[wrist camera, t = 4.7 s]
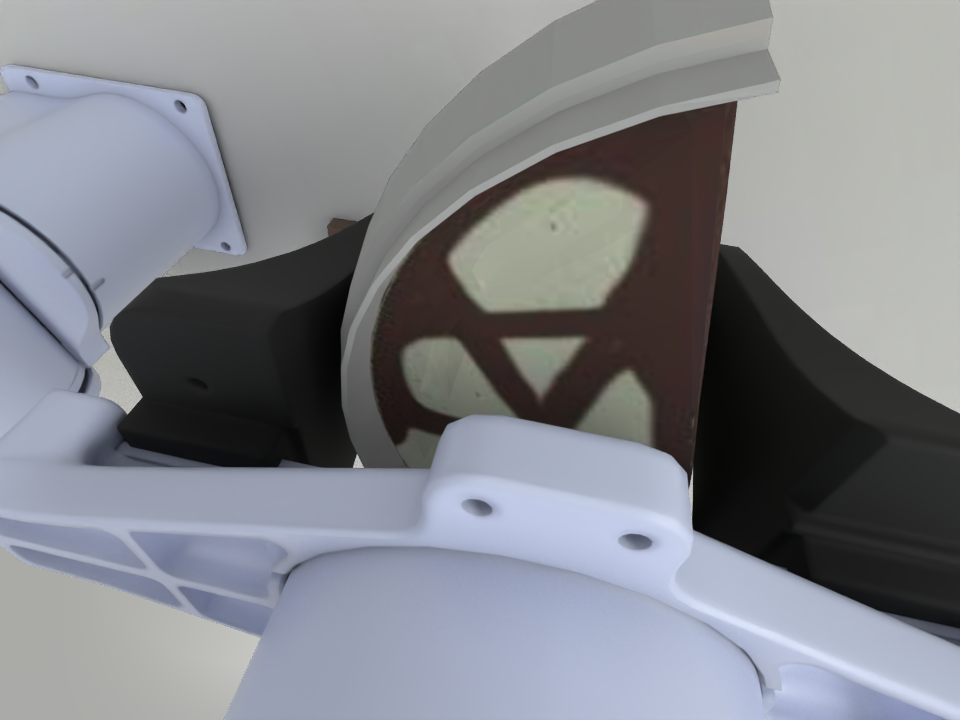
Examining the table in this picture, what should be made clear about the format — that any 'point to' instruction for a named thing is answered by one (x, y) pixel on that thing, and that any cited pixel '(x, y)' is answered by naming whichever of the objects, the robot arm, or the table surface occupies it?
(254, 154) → the table surface
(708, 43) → the food container
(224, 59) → the table surface
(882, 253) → the table surface
